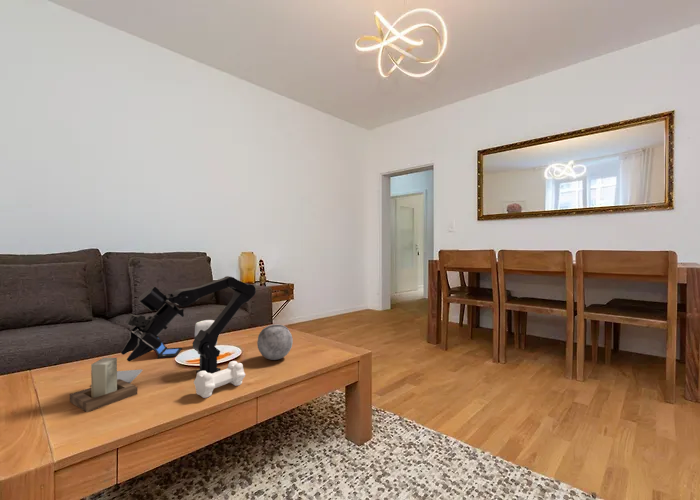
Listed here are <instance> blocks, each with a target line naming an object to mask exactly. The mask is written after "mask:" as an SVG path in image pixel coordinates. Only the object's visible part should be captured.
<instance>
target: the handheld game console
mask: <svg viewBox="0 0 700 500" xmlns="http://www.w3.org/2000/svg"><path fill="white" fill-rule="evenodd" d="M158 339H159V340H161V346H160V347H159V348H158V349H156V348H154V347H153V348H154V349H155V350H154V351H153V352H154V353H155V354H156V356H157V357H156V358H157V359H158V360H159V359H172V358H173V359H174V358H176V357H178V355H179V354H180V353H181V352H182V350H183V347H181V346H180V347H167V346H166V345H165V343H164V342H163V341H162V339H161V338H160V336H158Z"/></svg>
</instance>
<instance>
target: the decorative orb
mask: <svg viewBox="0 0 700 500" xmlns="http://www.w3.org/2000/svg"><path fill="white" fill-rule="evenodd" d="M292 335H293V334H292V333H291V331H290V330H289V328H288V327H287V326H285V325H283V324H278V323H276V324H275V323H274V324H270V325H267V326H265V327H263V329H262V330H260V332H259V334H258V337H257V341H256V343H257V349H258V351H259V353H260V355H261V356H262V357H264V358H265V359H268V360H271V361H277V360H281V359H283V358H285V357H286V356H287V355H288V354H289V353H290V352H291V350H292V347H293V344H294V343H293V342H294V340H293V336H292Z"/></svg>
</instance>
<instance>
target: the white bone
mask: <svg viewBox="0 0 700 500" xmlns="http://www.w3.org/2000/svg"><path fill="white" fill-rule="evenodd" d="M245 377H246V372H245V369H244V365H243V363H241V362H238V361H237V360H232V361H229V363H228V364H227V368H225V369H222V370H221V369H220V370H219V371H216V372H213V373H208V372H206V371H200V372H197V373H196V377H195V379H194V380H193V384H194V387H195V388H194V389H195V392H196V395H197V396H200V397H202V398H203V399H207V398H210V397H211V396H212V395H213V391H214V389H216V388H219V387H221V386H225V385H227V384H232V385H233V386H236V387H238V386H240V385H242V384H243V381H244V378H245Z"/></svg>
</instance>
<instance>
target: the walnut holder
mask: <svg viewBox="0 0 700 500" xmlns="http://www.w3.org/2000/svg"><path fill="white" fill-rule="evenodd" d="M136 395H138V386H136V385H135V384H133V383H128V382H125V381H123V380H121V379H118V380H117V391H114V392H111V393H108V394H105V395H102V396H99V397H96V398H91V387H89V388H85V389H82V390H78V391H76V392H72V393H70V394H69V403H71V404H72V405H74V406H76V407H77V408H79V409H80V410H82V411H84V412H86V413H88V412H91V411H94V410H97V409H101V408H102V407H105V406H109V405H112V404H113V403H114V404H115V403H116V402H117V403H118V402H120V401H122V400H126V399H127V398H132V397H134V396H136Z"/></svg>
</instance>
